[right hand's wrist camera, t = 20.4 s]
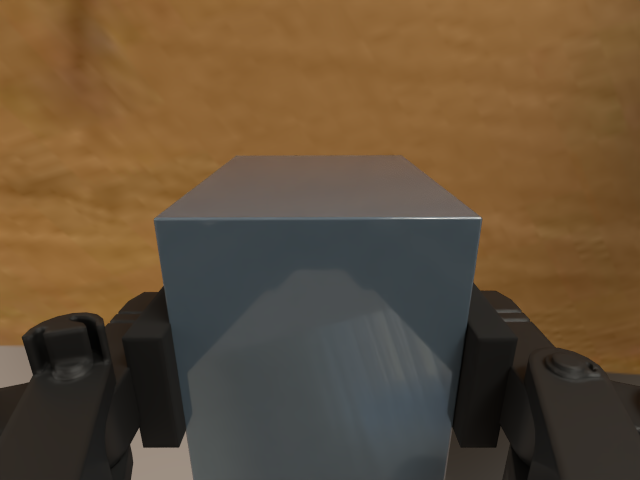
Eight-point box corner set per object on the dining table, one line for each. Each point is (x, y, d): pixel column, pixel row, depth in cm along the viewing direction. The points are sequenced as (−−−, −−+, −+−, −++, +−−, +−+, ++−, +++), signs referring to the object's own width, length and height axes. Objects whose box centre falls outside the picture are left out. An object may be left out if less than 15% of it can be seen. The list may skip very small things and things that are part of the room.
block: (390, 326, 17) (442, 498, 10) (247, 326, 17) (195, 498, 10) (402, 155, 14) (483, 217, 7) (235, 155, 14) (152, 218, 7)
